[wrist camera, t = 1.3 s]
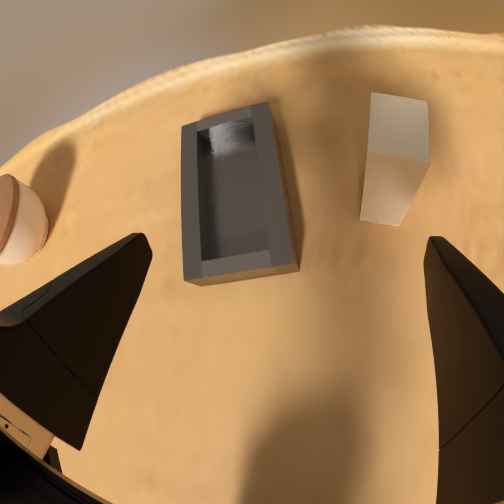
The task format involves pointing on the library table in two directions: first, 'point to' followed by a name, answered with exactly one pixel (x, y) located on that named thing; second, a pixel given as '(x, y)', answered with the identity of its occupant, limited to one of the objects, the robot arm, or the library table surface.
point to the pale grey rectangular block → (394, 157)
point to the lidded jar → (20, 222)
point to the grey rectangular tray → (235, 199)
